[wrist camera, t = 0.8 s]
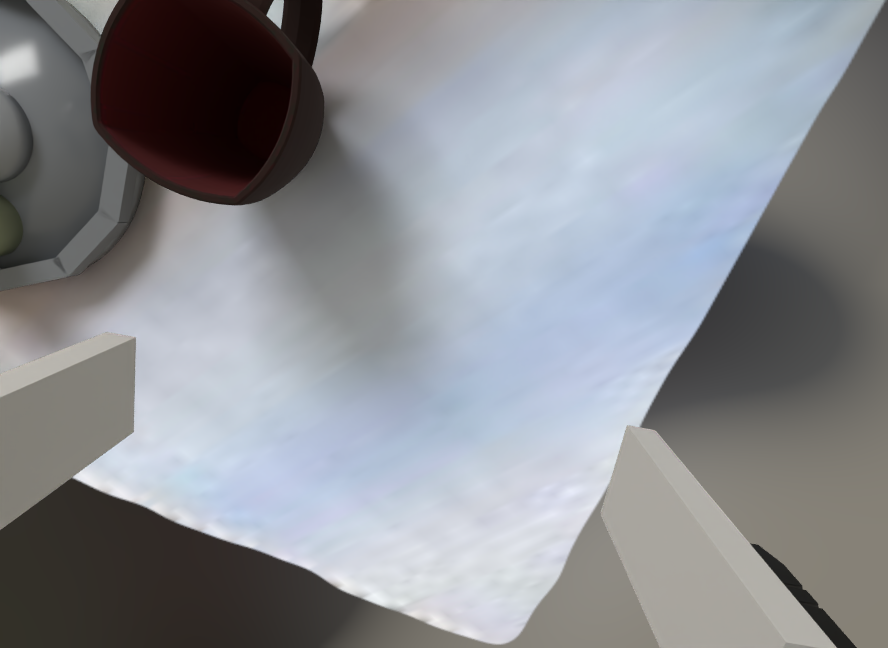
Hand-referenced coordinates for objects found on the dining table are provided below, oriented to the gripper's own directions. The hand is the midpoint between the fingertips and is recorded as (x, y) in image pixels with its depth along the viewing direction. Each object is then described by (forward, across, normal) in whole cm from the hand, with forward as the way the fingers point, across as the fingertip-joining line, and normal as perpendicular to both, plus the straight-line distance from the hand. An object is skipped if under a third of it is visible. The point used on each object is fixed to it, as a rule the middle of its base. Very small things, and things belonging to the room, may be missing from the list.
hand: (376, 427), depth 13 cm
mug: (+26, -12, +10) cm, 31 cm away
